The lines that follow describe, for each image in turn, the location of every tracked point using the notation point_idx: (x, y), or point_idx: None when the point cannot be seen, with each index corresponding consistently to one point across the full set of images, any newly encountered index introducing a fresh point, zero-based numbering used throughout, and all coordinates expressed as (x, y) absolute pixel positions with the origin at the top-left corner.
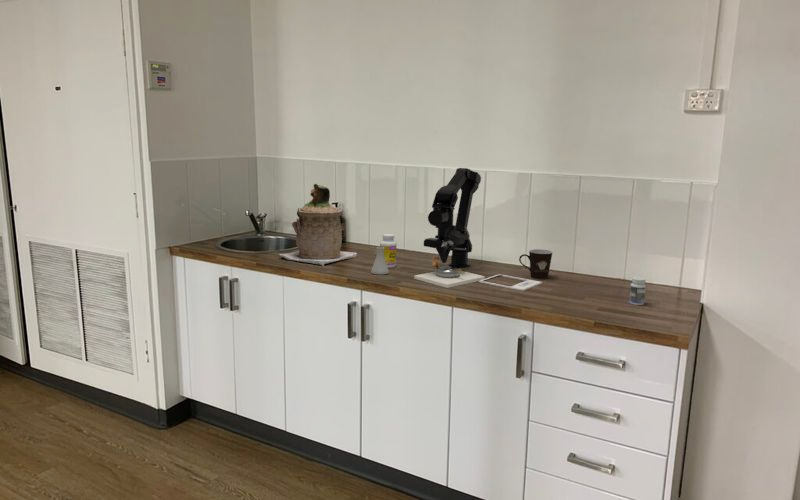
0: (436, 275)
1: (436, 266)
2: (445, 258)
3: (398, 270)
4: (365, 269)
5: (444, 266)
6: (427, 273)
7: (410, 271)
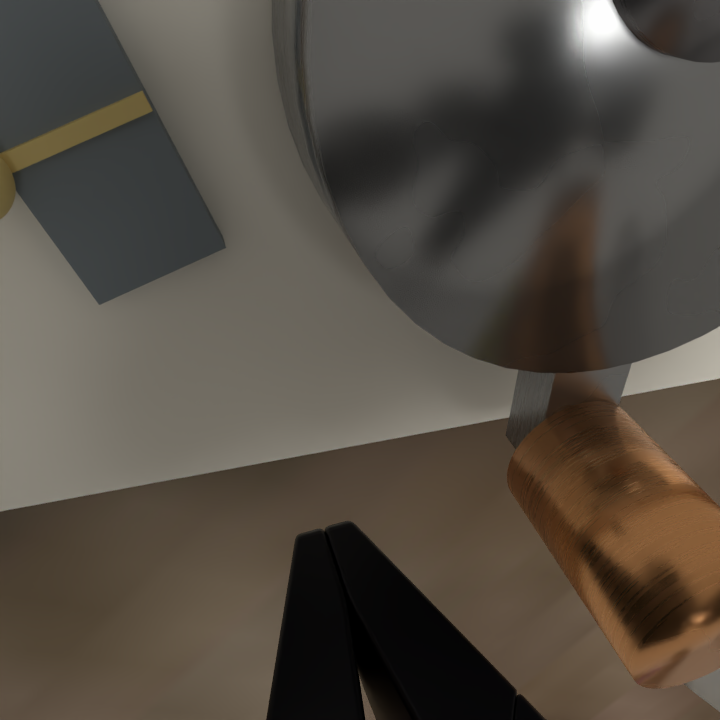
0: None
1: (620, 412)
2: (385, 617)
3: (568, 659)
4: (696, 715)
5: (494, 343)
6: (658, 370)
7: (523, 609)
